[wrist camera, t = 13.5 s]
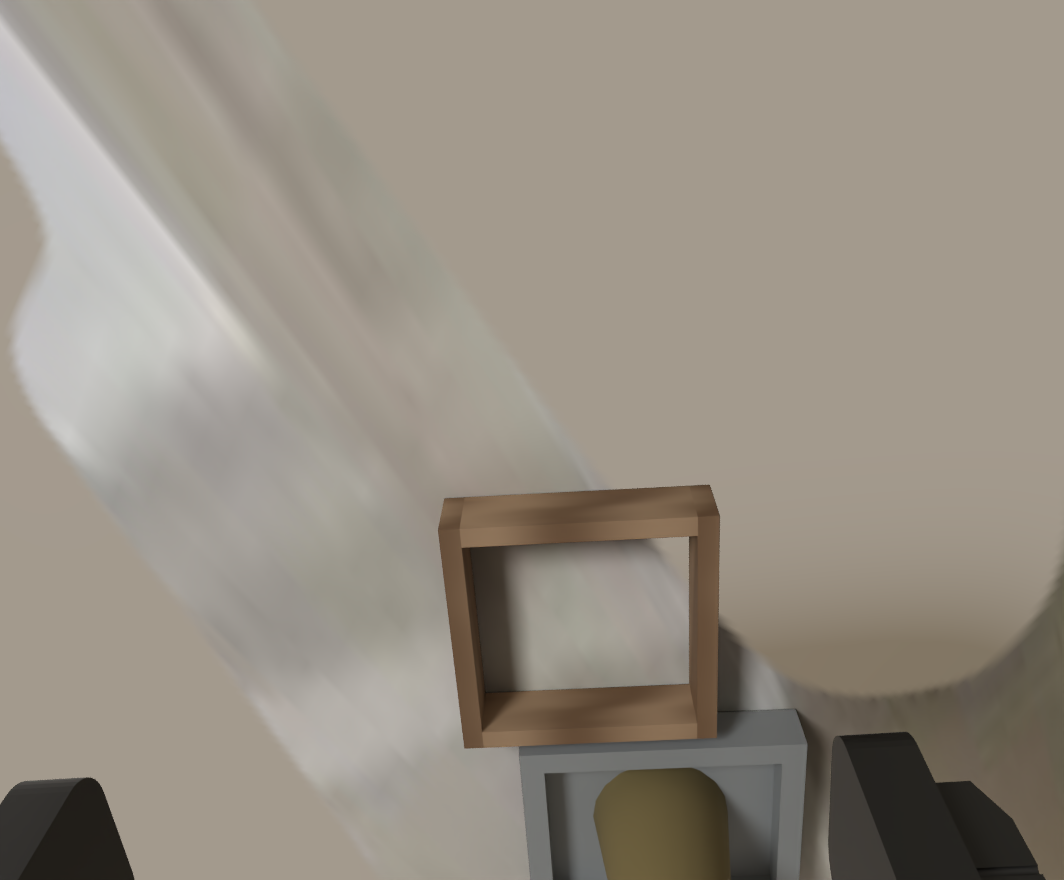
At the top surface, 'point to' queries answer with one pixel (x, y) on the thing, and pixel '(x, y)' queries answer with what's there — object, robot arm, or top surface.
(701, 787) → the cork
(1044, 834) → the top surface
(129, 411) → the top surface
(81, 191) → the top surface
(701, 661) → the socket block
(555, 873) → the tray
